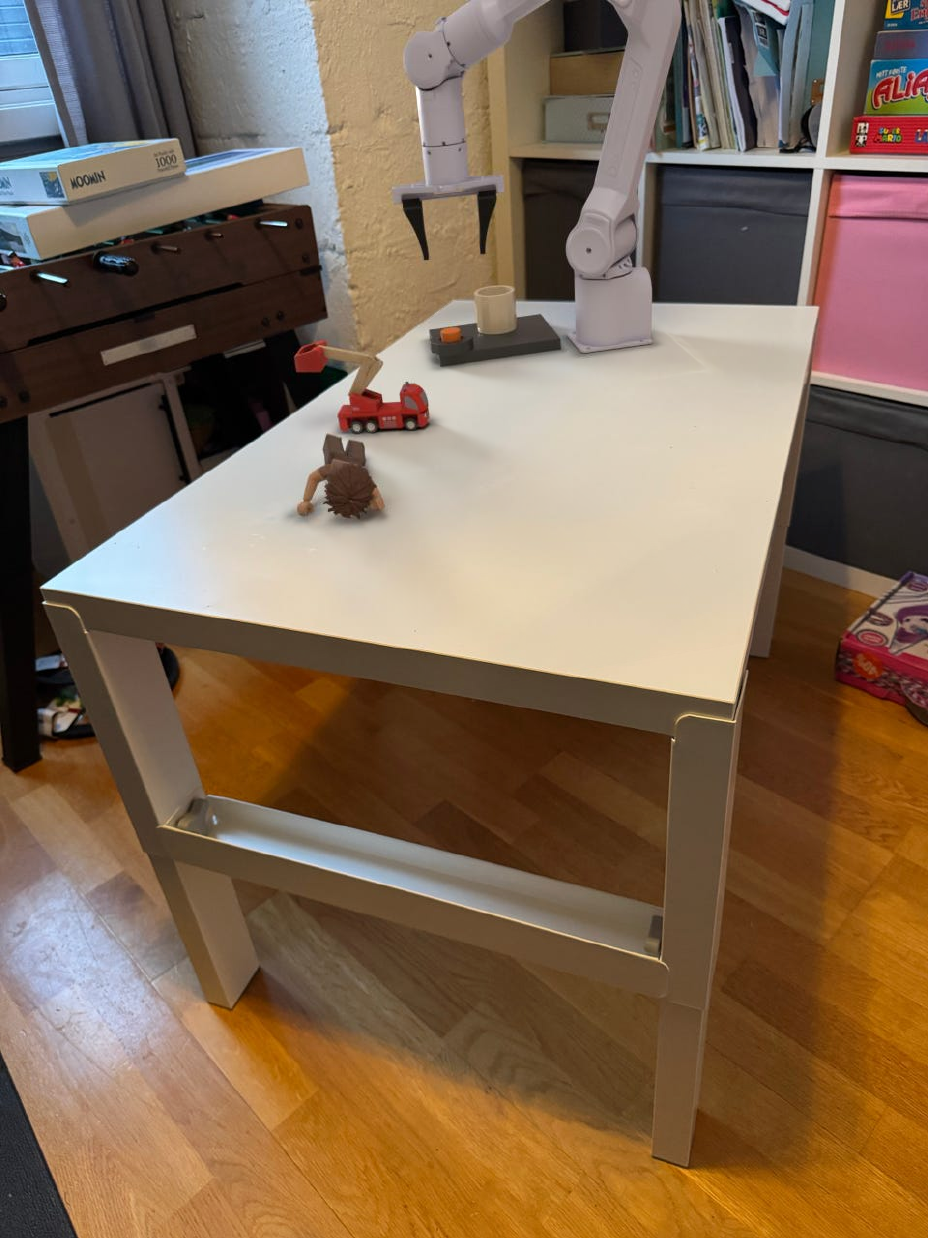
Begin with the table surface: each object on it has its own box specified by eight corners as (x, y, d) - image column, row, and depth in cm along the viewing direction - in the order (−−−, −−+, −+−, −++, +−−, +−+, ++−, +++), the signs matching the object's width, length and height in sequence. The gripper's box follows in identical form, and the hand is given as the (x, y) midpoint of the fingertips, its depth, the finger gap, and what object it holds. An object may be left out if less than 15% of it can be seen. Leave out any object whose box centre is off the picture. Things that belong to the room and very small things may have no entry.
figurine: (302, 487, 93) (303, 545, 80) (283, 441, 90) (281, 493, 77) (375, 462, 93) (388, 517, 80) (358, 415, 90) (369, 463, 77)
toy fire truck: (428, 430, 97) (417, 343, 92) (309, 436, 99) (291, 351, 94) (432, 418, 100) (422, 333, 95) (315, 424, 102) (299, 341, 96)
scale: (541, 325, 125) (540, 303, 123) (562, 352, 115) (561, 328, 113) (424, 341, 124) (422, 319, 122) (435, 370, 113) (432, 347, 112)
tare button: (459, 336, 116) (458, 325, 115) (462, 342, 113) (461, 331, 113) (440, 339, 115) (439, 328, 115) (442, 344, 113) (441, 334, 113)
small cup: (512, 320, 123) (510, 283, 120) (520, 331, 118) (518, 293, 115) (474, 325, 123) (471, 288, 120) (480, 336, 118) (477, 298, 115)
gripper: (386, 153, 109) (400, 267, 117) (502, 140, 109) (509, 256, 116) (388, 146, 115) (402, 255, 123) (499, 134, 115) (506, 244, 122)
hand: (454, 255), depth 120 cm, fingers open, 7 cm apart
